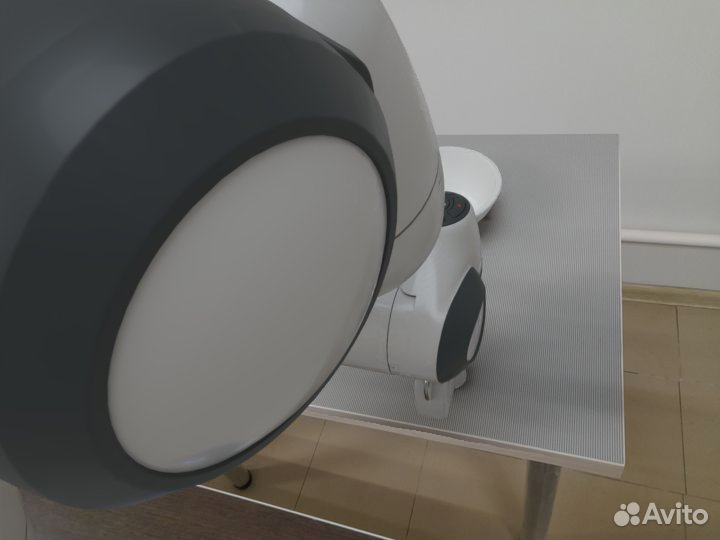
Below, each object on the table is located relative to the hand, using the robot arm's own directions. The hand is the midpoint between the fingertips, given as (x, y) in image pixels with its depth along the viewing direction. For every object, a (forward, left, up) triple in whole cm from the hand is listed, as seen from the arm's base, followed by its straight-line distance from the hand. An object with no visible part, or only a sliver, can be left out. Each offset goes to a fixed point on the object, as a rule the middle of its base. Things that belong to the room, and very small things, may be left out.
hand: (450, 368), depth 71 cm
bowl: (+32, +8, -3) cm, 33 cm away
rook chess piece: (0, 0, -3) cm, 3 cm away
